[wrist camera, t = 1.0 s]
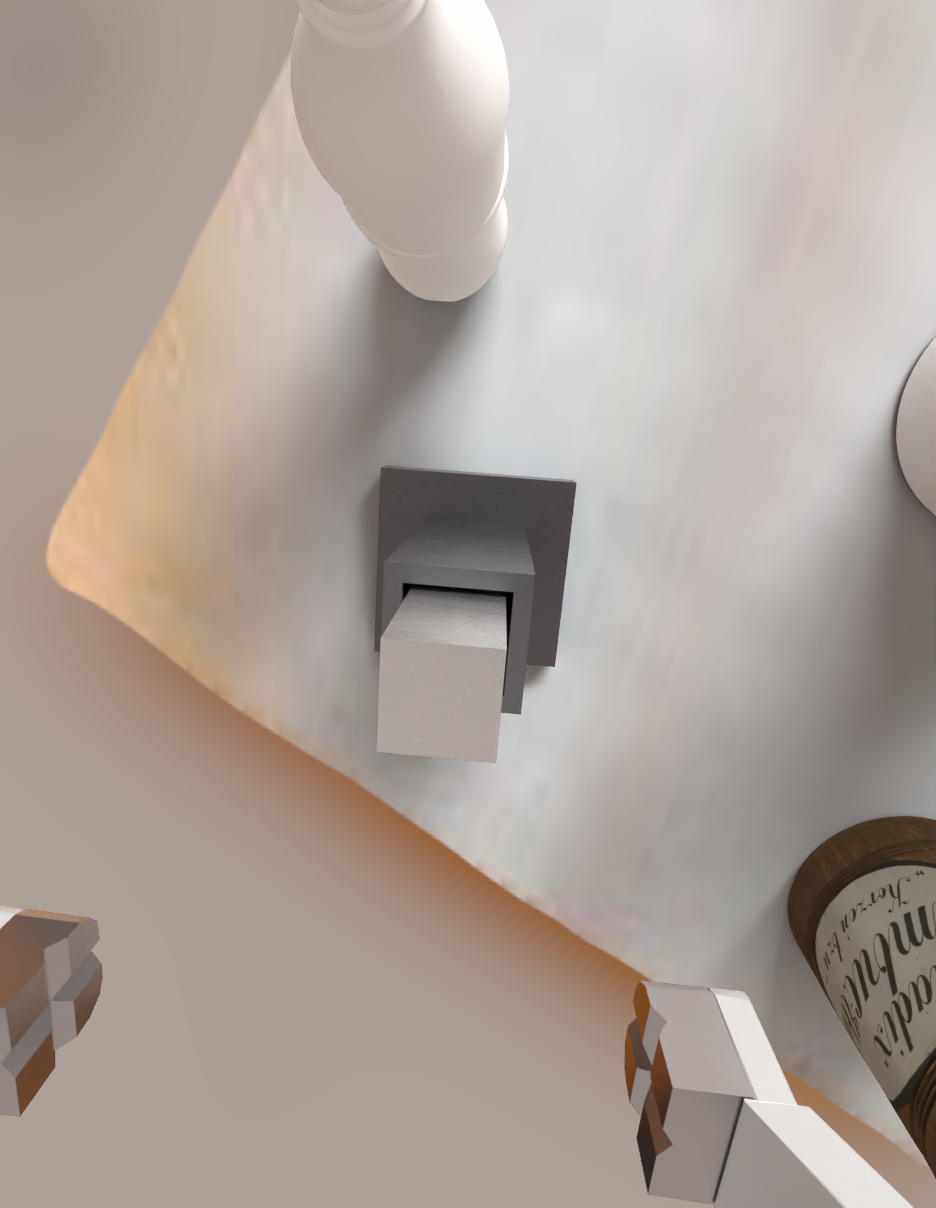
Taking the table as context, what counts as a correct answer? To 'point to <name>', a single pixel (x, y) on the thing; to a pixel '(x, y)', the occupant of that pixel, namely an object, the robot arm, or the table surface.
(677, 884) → the table surface
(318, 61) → the water bottle
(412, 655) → the column
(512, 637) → the stand
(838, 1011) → the wooden container
